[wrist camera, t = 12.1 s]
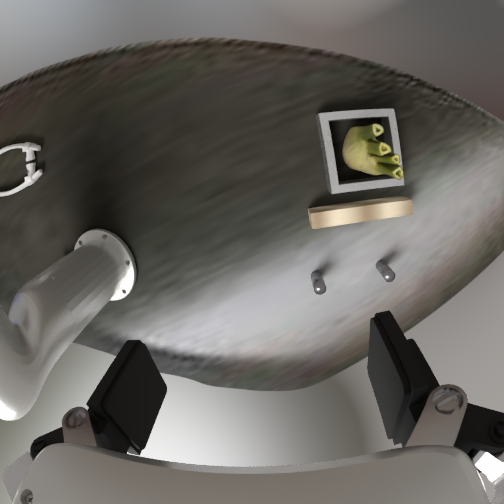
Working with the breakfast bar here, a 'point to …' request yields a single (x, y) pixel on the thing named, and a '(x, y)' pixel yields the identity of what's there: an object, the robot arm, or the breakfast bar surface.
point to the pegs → (381, 266)
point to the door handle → (32, 176)
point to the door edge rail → (359, 211)
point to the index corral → (328, 152)
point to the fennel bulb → (370, 152)
